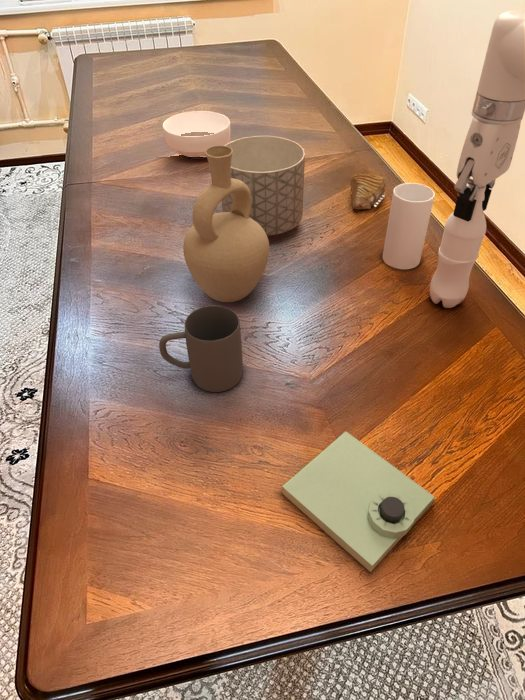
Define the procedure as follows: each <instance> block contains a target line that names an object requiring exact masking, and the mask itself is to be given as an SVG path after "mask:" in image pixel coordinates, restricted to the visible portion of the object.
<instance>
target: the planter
mask: <svg viewBox="0 0 525 700" xmlns="http://www.w3.org/2000/svg"><path fill="white" fill-rule="evenodd" d="M225 146H227V147H230V148H231V149H232V150H233V154H232V157H231V178H234V179H238V180H240V181H242V182H244V183H245V184H246V185H247V186H248V188H249V190H250V192H251V201H252V203H251V210H250V215H249V217H250V218H251V219H253V220H254V221H256V222H257V223H258V224H259V225H260V226H261V227H262V228H263V229H264V231H265V233H266V235H267V237H269V236H275V235H280V234H284V233H287V232H288V231H291V230H293V229H294V228H296V227H297V226H298V225H299V224H300V223H301V221H302V219H303V213H304V212H303V210H304V209H303V208H304V187H305V165H306V152H305V149H304V148H303V146H302V145H300V144H299V143H297V142H296V141H294V140H291V139H288V138H285V137H281V136H274V135H251V136H246V137H245V136H244V137H240V138H237V139H235V140H232V141H229V142H228V143H227V144H226V145H225ZM232 203H233V193H231V194H229V195H228V196H226V197H225V198H224V199H223V200H222V201H221V208H222V211H221V212H231V209H232Z"/></svg>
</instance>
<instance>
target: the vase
mask: <svg viewBox="0 0 525 700" xmlns="http://www.w3.org/2000/svg"><path fill="white" fill-rule="evenodd" d="M205 154H206V156H207V157H206V159H207V162H208V165H209V173H210V179H211V180H210V181H211V184H210V185H208V186H207V187H206V188H204V190H202V191H201V193H200V194H199V195H198V197H197V199H196V200H195V202H194V205H193V208H192V209H193V210H192V224H193V225H191V226H190V227H189V229H188V230H187V232H186V234H185V237H184V239H183V245H182V247H183V250H182V251H183V257H184V261H185V264H186V267H187V269H188V271H189V273H190V275H191V277H192V278H193V281H195V283H196V285H197V286H198V287H199V288H200V289H201V291H203V293H204V294H205V295H206V296H207V297H209V298H211V299H212V300H215V301H218V302H221V303H235V302H239V301H240V300H243V299H245V298H246V297H247V296H248V295H249V294H250V293H252V291H253V290H254V289H255V288H256V286H257V284H258V283H259V281H260V280H261V279H262V276H263V274H264V272H265V270H266V267H267V265H268V262H269V257H270V256H269V255H270V241H269V238H268V237H269V236H267V235H266V233H265V231H264V229H263V228H262V227H261V226H260V225H259V224H258V223H257V222H256V221H254V220H253V219H251V218H250V217H249V215H250V210H251V203H252V201H251V192H250V190H249V188H248V186H247V185H246V184H245V183H244V182H242V181H240V180H238V179H234V178H231V157H232V154H233V150H232V149H231V148H230V147H227V146H213V147H210V148H208V149H207V150H206V151H205ZM231 193H233V203H232V209H231V212H223V211H220V212H216V213H215V210H216V209H217V206H218V205H219V204H220V203H222V200H223V199H224V198H225V197H226V196H228V195H229V194H231Z"/></svg>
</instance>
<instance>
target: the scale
mask: <svg viewBox="0 0 525 700" xmlns="http://www.w3.org/2000/svg"><path fill="white" fill-rule="evenodd" d="M281 494H282V495H283V496H284V497H285V498H286V499H287V500H288V501H290V503H292V504H293V505H294V506H295V507H296V508H297V509H298V510H300V511H301V513H303V514H304V515H306V516H307V517H308V518H309V519H310V520H311V521H312V522H313V523H314V524H315V525H317V526H318V527H319V528H320V529H321V530H322V531H323V532H324V533H325V534H326V535H328V536H329V537H330V538H331V539H332V540H333V541H334V542H336V543H337V544H338V545H339V546H340V547H341V548H342V549H344V551H346V552H347V553H348V554H349V555H351V557H353V559H355V560H356V561H357V562H358V563H359V564H361V566H363V567H364V568H365V569H366V570H367V571H368V572H370V573H372V571H373V570H374V569H375V568H376V567H377V566H378V565H379V564H380V562H381V561H383V559H384V558H385V557H386V556H387V555H388V554H389V553H390V551H392V550H393V548H394V547H396V545H397V544H398V543H399V542H400V540H401V539H402V538H403V537H404V536H406V535H407V534H408V533H409V531H411V529H412V528H413V526H415V524H416V523H417V522H418V521H419V519H420V518H421V517H422V516H423V515H424V514H425V513H426V512H427V510H428V509H429V508H430V507H431V506H432V505H433V503H434V500H435V498H436V496H435V495H433V494H432V493H430V491H427V490H426V489H425V488H424V487H422V486H421V485H420V484H418V483H417V482H416V481H414V480H413V479H412V478H410V477H409V476H407V475H406V474H405V473H404V472H403V471H401V470H399V469H398V468H396V467H395V466H394V465H393V464H391V463H390V462H389V461H387V460H386V459H384V458H383V457H382V456H380V455H379V454H377V452H375V451H374V450H372V449H371V448H370V447H368V446H367V445H365V444H364V443H363V442H362V441H360V440H359V439H357V438H356V437H355V436H354V435H352V434H351V433H350V432H348V431H344V432H343V433H342V434H341V435H339V436H338V437H337V438H336V439H335V440H334V441H332V442H331V443H330V444H329V445H328V446H327V447H326V448H325V449H323V450H322V451H321V452H320V453H319V454H318V455H316V456H315V457H314V458H313V459H311V461H310V462H309V463H307V464H305V466H304V467H302V468H301V469H300V470H299V471H298V472H297V473H296V474H294V475H293V476H292V477H291V478H290V479H289V480H288V481H287V482H285V483H284V484H283V485H281ZM387 497H396V498H398V499H399V500H401V501H402V503H403V504H404V508H405V510H404V513H403V516H402V519H401V520H400V521H398V522H395V523H391V522H388V521H386V520H384V519H383V518H382V516H381V514H380V507H381V503H382V501H383V500H384V499H385V498H387Z"/></svg>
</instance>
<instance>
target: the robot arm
mask: <svg viewBox="0 0 525 700" xmlns="http://www.w3.org/2000/svg"><path fill="white" fill-rule="evenodd" d="M524 115H525V9H512V10H507V11H503V12H502V13H500V14H499V15H498V16H497V18H496V19H495V20H494V22H493V25H492V28H491V33H490V37H489V41H488V44H487V49H486V53H485V57H484V61H483V65H482V69H481V73H480V77H479V81H478V86H477V89H476V93H475V97H474V101H473V106H472V109H471V116H472V117H473V118H472V120H471V122H470V124H469V128H468V129H467V134H466V137H465V140H464V143H463V146H462V149H461V153H460V155H459V160H458V163H457V168H456V179H457V180H456V182H455V184H454V186H453V189H454V190H455V191H456V192H457V194H456V196H457V198H456V202H455V205H454V209H453V211H454V213H453V212H452V213H453V215H454V216H455V217H458V218H460V219H463V220H465V221H470V220H471V218H472V215H473V211H474V208H475V204H476V201H477V200H475V197H476V194H477V191H478V189H479V187H483V186H485V185H486V189H485V192H484V194H485V196H484V197H485V199H484V201H482V209H483V212H485V211H486V210H487V209H488V204H489V200H490V197H491V194H492V191H493V188H494V186H495V184H496V180H497V179H498V178H500V177H501V176H503V175H504V174H506V173H507V171H509V169H510V167H511V164H512V161H513V158H514V153H515V149H516V147H517V142H518V138H519V133H520V129H521V123H522V120H523V118H524ZM471 177H472V178H471ZM468 184H470V185H473V188H472V191H471V190H470V188H468V187H467V186H468Z"/></svg>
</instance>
